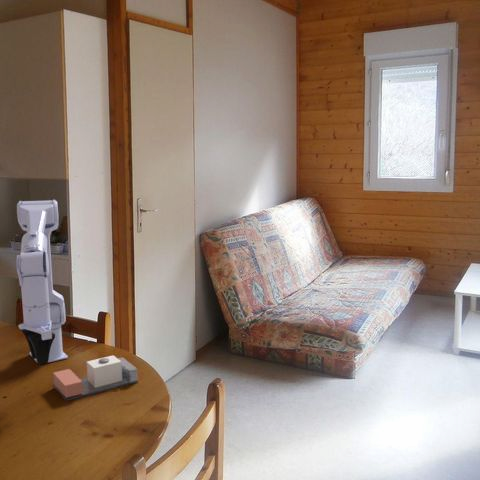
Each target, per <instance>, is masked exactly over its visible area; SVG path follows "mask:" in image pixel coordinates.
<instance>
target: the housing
mask: <svg viewBox="0 0 480 480" xmlns="http://www.w3.org/2000/svg"><path fill="white" fill-rule="evenodd" d="M86 375H87V377H88V381H89V382H90V383H91V384H92V385H93V386H94V387H95V388H96V387H100V386H104V385H108V384H111V383H115V382H119V381H122V364H121V361H120V360H119V359H118V357H116V356H115V355H109V356H104V357H100V358H96V359H92V360H87V361H86Z"/></svg>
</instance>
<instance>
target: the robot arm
mask: <svg viewBox="0 0 480 480" xmlns="http://www.w3.org/2000/svg"><path fill="white" fill-rule="evenodd" d="M58 205H59V204H58V201H57V200H56V199H52V200H50V199H48V200H24V201H22V200H19V201H18V202H17V204H16V215H17V222H18V224H19V226H20V228H21V230H22V231H23V232H24V231H25V233H24V234H23V236H22V238H21V247H20V254H17V256H16V272H17V273H16V274H17V275H18V282H19V286H20V287H21V288H20V290H21V301H22V303H21V304H22V314H23V315H22V317H23V322H22V323H19V324H18V328H19V329H20V330H21V332H22V334H23V336H24V338H25V340H26V342H27V345H28V348H29V355H30V356H31V357H32V359H33V360H34V361H35V362H36V363H37V364H38V365H44V364H48V363H53V362H56V361H61V360H65V359H69V357H68V356H69V355H67V354H66V353H65V352H64V351H63V350H64V349H63V336H62V335H63V333H62V325H65V323H66V321H67V320H66V305H65V299H64V296H63V295H62V294H60V293H59V292H57V291H56V290H54V286H53V270H52V253H51V240H50V239H51V235H52V232H53V231H55V230H57V229H58V228H59V226H60V225H59V224H60V223H59V207H58Z"/></svg>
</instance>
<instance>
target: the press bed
mask: <svg viewBox="0 0 480 480" xmlns="http://www.w3.org/2000/svg"><path fill="white" fill-rule="evenodd" d="M117 359H119V360H120V361H121V364H122V381H119V382H115V383H111V384H108V385H104V386H100V387H96V388H95V387H94V386H93V385H92V384H91V383H90V382H89V381H88V376H87V377H82V378H79V379H80V380H81V381H82V388H83V394H79V395H75V396H71V397H68V398H66V397H65V396H64V395H63V394H62V393H61V392H60V391H59V389H58V388H57V387H56V386H55V385H54V384H53V387H54V389H55V390H56V392H57V393H59V395H60V396H61V397H62V398H63V399H64V401H66V402H68V401H72V400H75V399H80V398H83V397H87V396H91V395H94V394H99V393H101V392H105V391H109V390H113V389H116V388H121V387H125V386H128V385H132V384H135V383H138V382H139V381H138V380H139V376H138V368H137V367H136V366H134V365H133V364H132V363H130V362H129V361H128V360H127V359H126V358H124V357H119V358H118V357H117Z"/></svg>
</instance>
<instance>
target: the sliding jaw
mask: <svg viewBox="0 0 480 480" xmlns="http://www.w3.org/2000/svg"><path fill="white" fill-rule="evenodd" d="M52 375H53V377H52V378H53V386H54V385H55V386H56V387H57V388H58V389H59V391H60V392H61V393H62V394H63V395H64V396H65V397H66V398H68V397H71V396H75V395H79V394H83V388H82V381H81V380H80V379H81V378H79V377H78V376H77V375H76V373H74V372H73V371H72V370H71V369H70V368H68V369H63V370H59V371H54V372H53V373H52Z"/></svg>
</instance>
